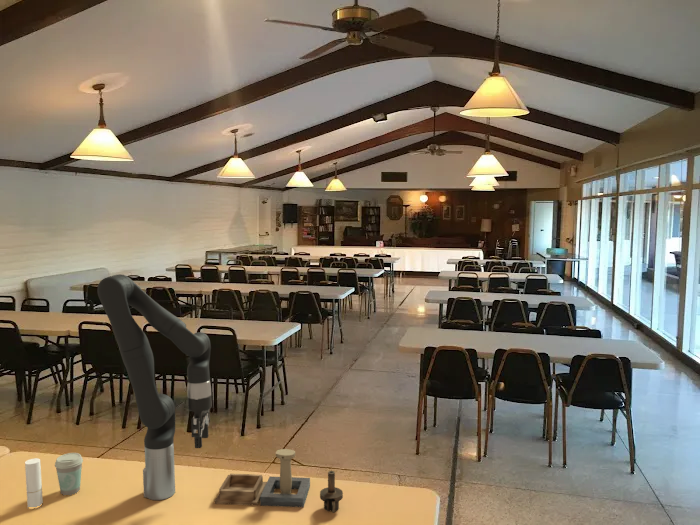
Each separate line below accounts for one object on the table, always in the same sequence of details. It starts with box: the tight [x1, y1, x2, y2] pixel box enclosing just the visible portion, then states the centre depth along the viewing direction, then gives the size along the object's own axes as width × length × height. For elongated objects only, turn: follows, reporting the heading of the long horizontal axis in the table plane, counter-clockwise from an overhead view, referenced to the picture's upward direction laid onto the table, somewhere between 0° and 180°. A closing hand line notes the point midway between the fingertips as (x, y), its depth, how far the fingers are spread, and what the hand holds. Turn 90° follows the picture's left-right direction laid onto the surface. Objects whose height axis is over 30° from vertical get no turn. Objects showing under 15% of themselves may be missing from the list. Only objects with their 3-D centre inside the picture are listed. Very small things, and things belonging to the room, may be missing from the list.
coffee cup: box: [54, 452, 84, 496], centre depth 196 cm, size 8×9×12 cm
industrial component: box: [319, 470, 344, 513], centre depth 186 cm, size 9×7×12 cm
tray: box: [214, 473, 267, 506], centre depth 195 cm, size 14×14×4 cm
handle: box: [275, 448, 296, 494], centre depth 193 cm, size 5×6×15 cm
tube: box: [24, 457, 44, 508], centre depth 187 cm, size 4×4×15 cm
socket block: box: [259, 476, 311, 508], centre depth 194 cm, size 14×14×3 cm
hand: (201, 442), depth 192 cm, fingers open, 8 cm apart
